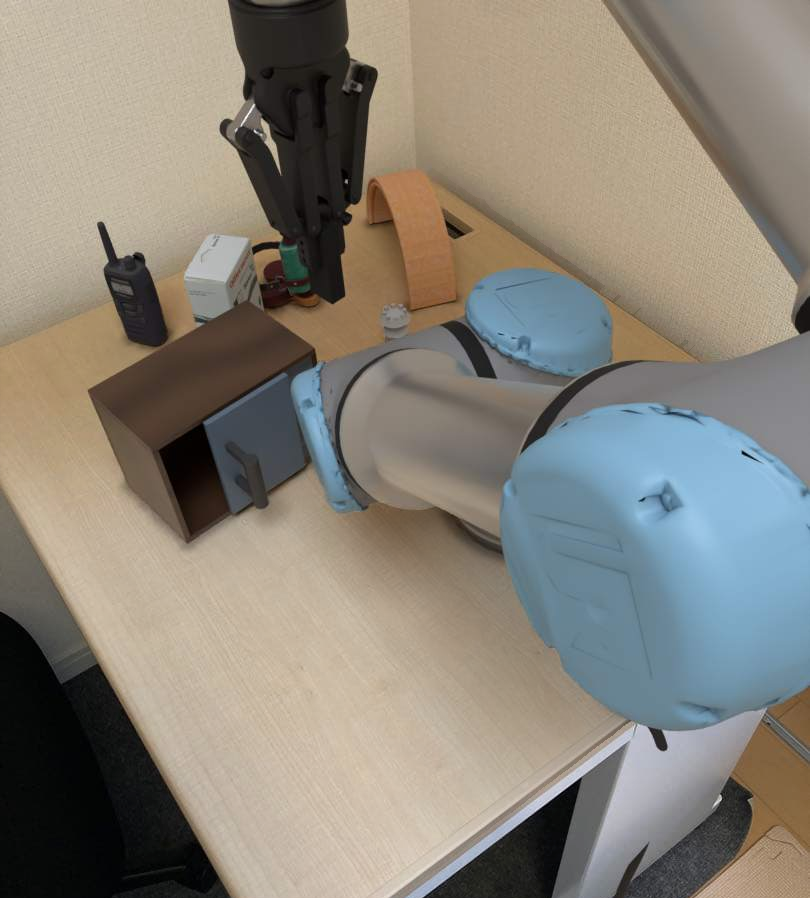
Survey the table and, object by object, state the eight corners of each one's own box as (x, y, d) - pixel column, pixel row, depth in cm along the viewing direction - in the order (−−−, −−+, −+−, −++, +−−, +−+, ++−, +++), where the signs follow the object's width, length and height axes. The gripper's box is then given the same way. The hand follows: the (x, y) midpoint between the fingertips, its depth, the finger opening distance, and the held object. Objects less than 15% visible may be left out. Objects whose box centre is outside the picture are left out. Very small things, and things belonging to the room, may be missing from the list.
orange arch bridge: (409, 310, 107) (405, 235, 99) (367, 219, 119) (360, 146, 111) (456, 300, 108) (456, 224, 100) (409, 211, 120) (406, 137, 112)
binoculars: (228, 199, 106) (312, 188, 105) (253, 275, 114) (331, 266, 113) (217, 243, 100) (305, 232, 99) (244, 320, 109) (326, 311, 107)
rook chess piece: (396, 389, 98) (391, 330, 92) (369, 369, 101) (363, 310, 94) (426, 369, 100) (424, 310, 94) (400, 350, 102) (396, 291, 96)
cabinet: (331, 446, 94) (315, 347, 84) (187, 544, 87) (150, 448, 76) (269, 398, 99) (247, 299, 89) (128, 486, 92) (86, 389, 82)
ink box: (246, 371, 102) (225, 282, 92) (205, 367, 102) (179, 278, 93) (269, 322, 107) (251, 233, 98) (229, 319, 108) (207, 230, 98)
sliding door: (332, 487, 89) (317, 396, 80) (259, 538, 86) (234, 449, 76) (302, 462, 91) (284, 371, 82) (230, 511, 88) (202, 422, 78)
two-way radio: (121, 340, 106) (78, 226, 94) (142, 317, 109) (103, 203, 97) (160, 351, 105) (122, 236, 93) (181, 328, 107) (146, 213, 95)
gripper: (321, -62, 62) (354, 242, 80) (166, 1, 57) (239, 312, 75) (399, -37, 58) (414, 276, 77) (241, 33, 53) (298, 351, 71)
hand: (328, 293), depth 76 cm, fingers closed
